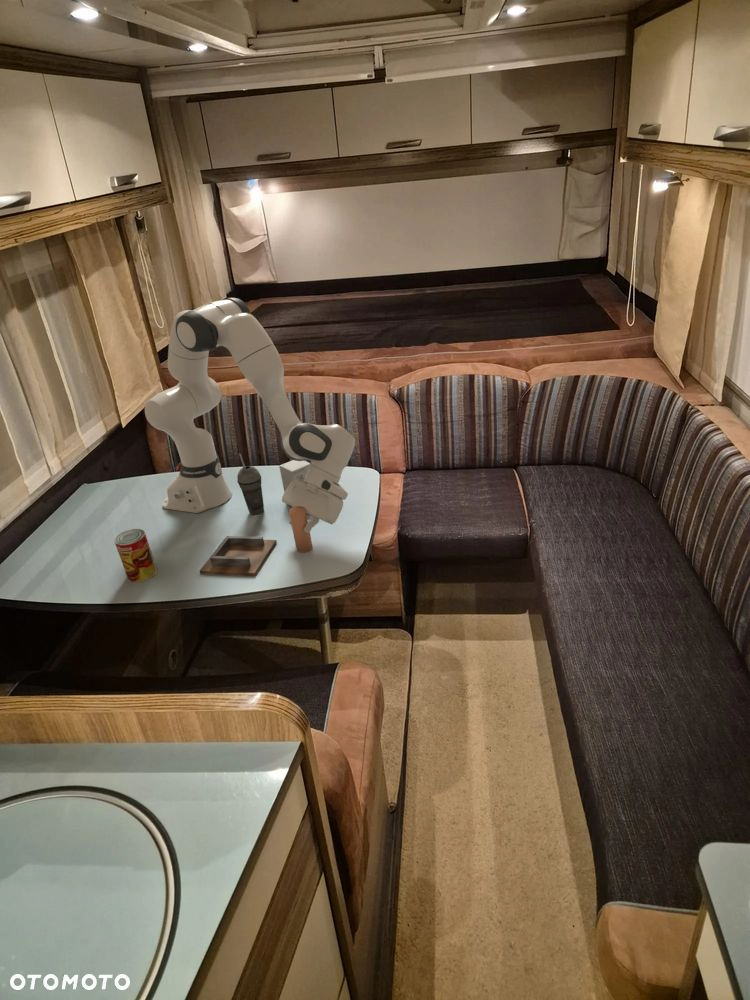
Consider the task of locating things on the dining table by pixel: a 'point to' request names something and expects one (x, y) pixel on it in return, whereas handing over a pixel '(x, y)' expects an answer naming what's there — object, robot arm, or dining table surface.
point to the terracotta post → (300, 529)
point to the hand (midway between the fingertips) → (298, 528)
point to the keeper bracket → (239, 556)
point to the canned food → (136, 555)
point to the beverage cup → (251, 488)
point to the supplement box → (293, 471)
